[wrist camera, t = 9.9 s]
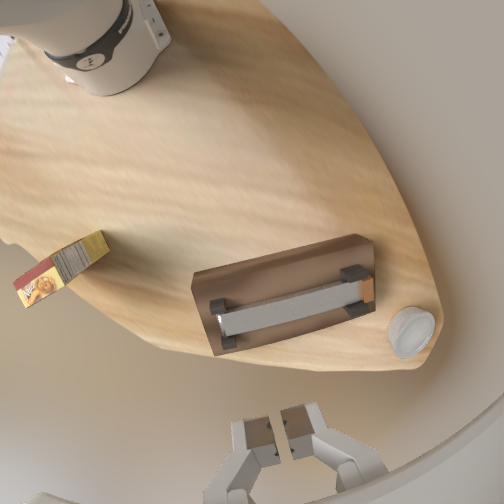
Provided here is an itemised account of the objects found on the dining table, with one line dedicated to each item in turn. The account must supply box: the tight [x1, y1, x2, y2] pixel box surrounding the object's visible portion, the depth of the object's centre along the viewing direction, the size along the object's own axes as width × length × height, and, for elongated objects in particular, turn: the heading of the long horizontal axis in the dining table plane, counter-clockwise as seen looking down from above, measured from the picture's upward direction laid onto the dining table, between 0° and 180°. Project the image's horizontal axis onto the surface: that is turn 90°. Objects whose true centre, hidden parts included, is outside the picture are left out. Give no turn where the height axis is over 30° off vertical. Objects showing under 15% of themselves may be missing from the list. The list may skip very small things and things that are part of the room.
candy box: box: [13, 230, 110, 308], centre depth 31 cm, size 9×4×15 cm, turn 113°
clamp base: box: [191, 234, 376, 356], centre depth 40 cm, size 12×27×9 cm, turn 102°
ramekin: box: [387, 306, 435, 359], centre depth 48 cm, size 11×11×5 cm
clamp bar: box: [216, 275, 374, 338], centre depth 37 cm, size 4×23×2 cm, turn 102°
